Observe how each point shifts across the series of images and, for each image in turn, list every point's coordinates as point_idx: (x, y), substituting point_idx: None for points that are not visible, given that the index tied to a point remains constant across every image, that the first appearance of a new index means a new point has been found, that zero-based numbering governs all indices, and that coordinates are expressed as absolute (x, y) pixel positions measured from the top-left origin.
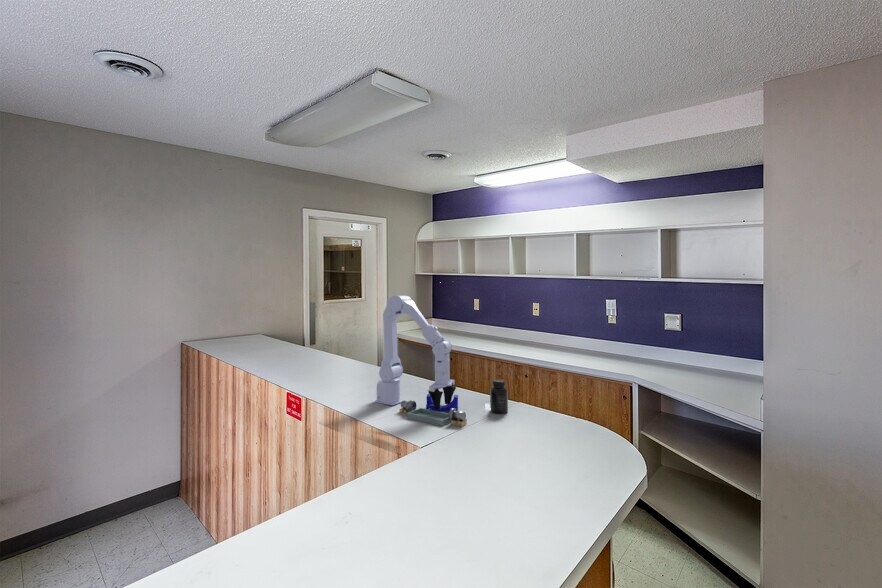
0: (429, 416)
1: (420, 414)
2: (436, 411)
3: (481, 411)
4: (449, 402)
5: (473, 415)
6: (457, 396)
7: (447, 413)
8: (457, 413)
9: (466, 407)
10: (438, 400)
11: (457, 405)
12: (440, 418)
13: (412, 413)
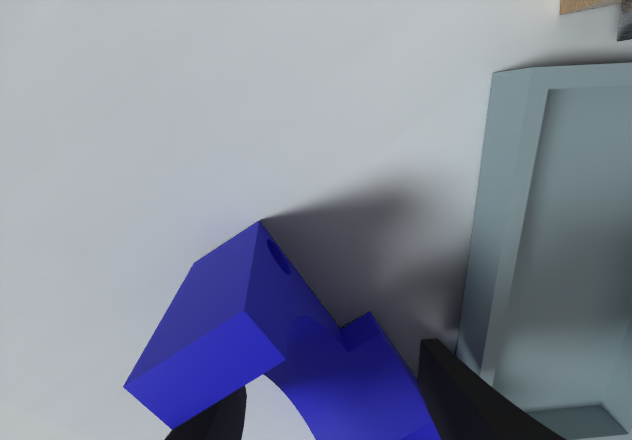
0: (531, 315)
1: (514, 389)
2: (501, 313)
3: (7, 17)
4: None
5: (222, 4)
6: (205, 338)
7: (518, 188)
8: None
9: (46, 256)
10: (523, 414)
11: (255, 247)
12: (546, 211)
13: (577, 423)
